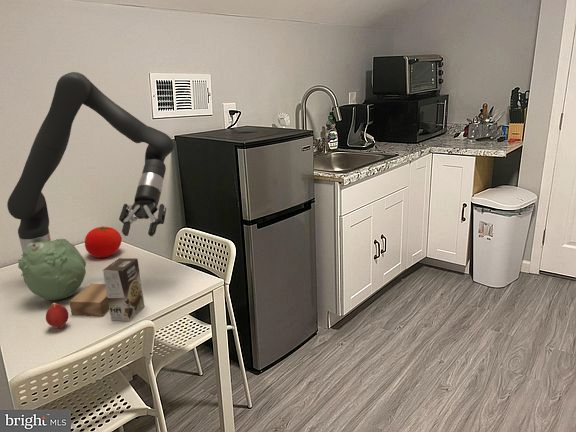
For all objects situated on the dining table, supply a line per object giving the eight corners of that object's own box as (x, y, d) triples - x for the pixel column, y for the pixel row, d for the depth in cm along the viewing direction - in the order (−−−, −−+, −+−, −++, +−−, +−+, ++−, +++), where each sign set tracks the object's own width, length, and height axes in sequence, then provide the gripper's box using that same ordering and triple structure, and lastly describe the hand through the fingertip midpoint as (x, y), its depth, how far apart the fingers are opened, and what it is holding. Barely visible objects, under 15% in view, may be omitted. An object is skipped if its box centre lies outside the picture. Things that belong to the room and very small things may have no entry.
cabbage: (94, 299, 149) (83, 240, 143) (28, 316, 141) (13, 254, 135) (87, 281, 163) (77, 227, 156) (26, 295, 154) (13, 238, 148)
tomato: (89, 251, 190) (84, 224, 186) (124, 247, 193) (120, 220, 189) (84, 263, 178) (79, 234, 175) (121, 258, 181) (117, 230, 178)
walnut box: (72, 316, 140) (68, 301, 139) (93, 297, 151) (91, 283, 150) (102, 317, 139) (100, 302, 137) (122, 298, 150) (120, 284, 148)
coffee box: (130, 321, 135) (122, 270, 130) (110, 320, 136) (101, 269, 131) (145, 306, 144) (138, 258, 139) (126, 305, 145) (118, 257, 140)
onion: (53, 323, 136) (47, 298, 134) (73, 321, 137) (68, 296, 134) (45, 333, 131) (39, 308, 128) (66, 332, 131) (60, 306, 129)
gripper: (123, 183, 150) (110, 229, 142) (165, 183, 147) (153, 230, 140) (134, 195, 156) (122, 239, 149) (174, 195, 153) (164, 240, 146)
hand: (137, 235), depth 144 cm, fingers open, 8 cm apart
